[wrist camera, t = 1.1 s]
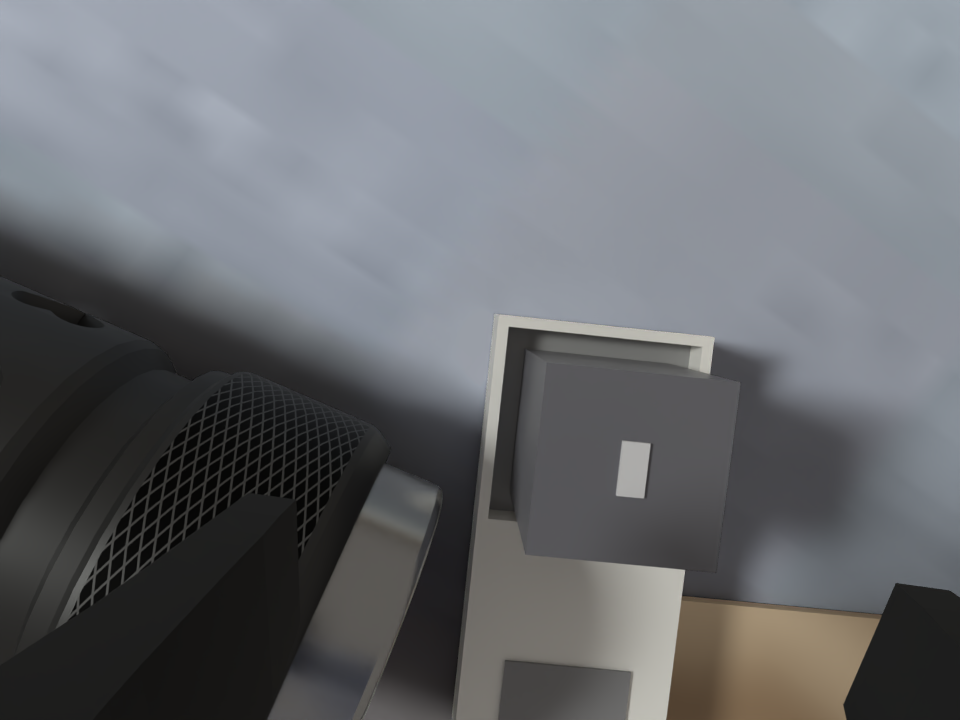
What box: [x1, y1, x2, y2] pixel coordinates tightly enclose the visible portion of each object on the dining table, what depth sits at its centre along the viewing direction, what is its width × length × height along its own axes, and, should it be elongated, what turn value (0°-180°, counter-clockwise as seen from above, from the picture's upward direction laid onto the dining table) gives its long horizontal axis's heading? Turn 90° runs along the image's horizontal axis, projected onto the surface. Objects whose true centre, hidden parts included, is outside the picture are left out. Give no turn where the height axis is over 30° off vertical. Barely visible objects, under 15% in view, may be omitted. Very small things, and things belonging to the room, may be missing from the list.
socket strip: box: [451, 314, 715, 720], centre depth 22 cm, size 20×6×4 cm, turn 174°
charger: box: [509, 349, 741, 573], centre depth 18 cm, size 4×4×6 cm
